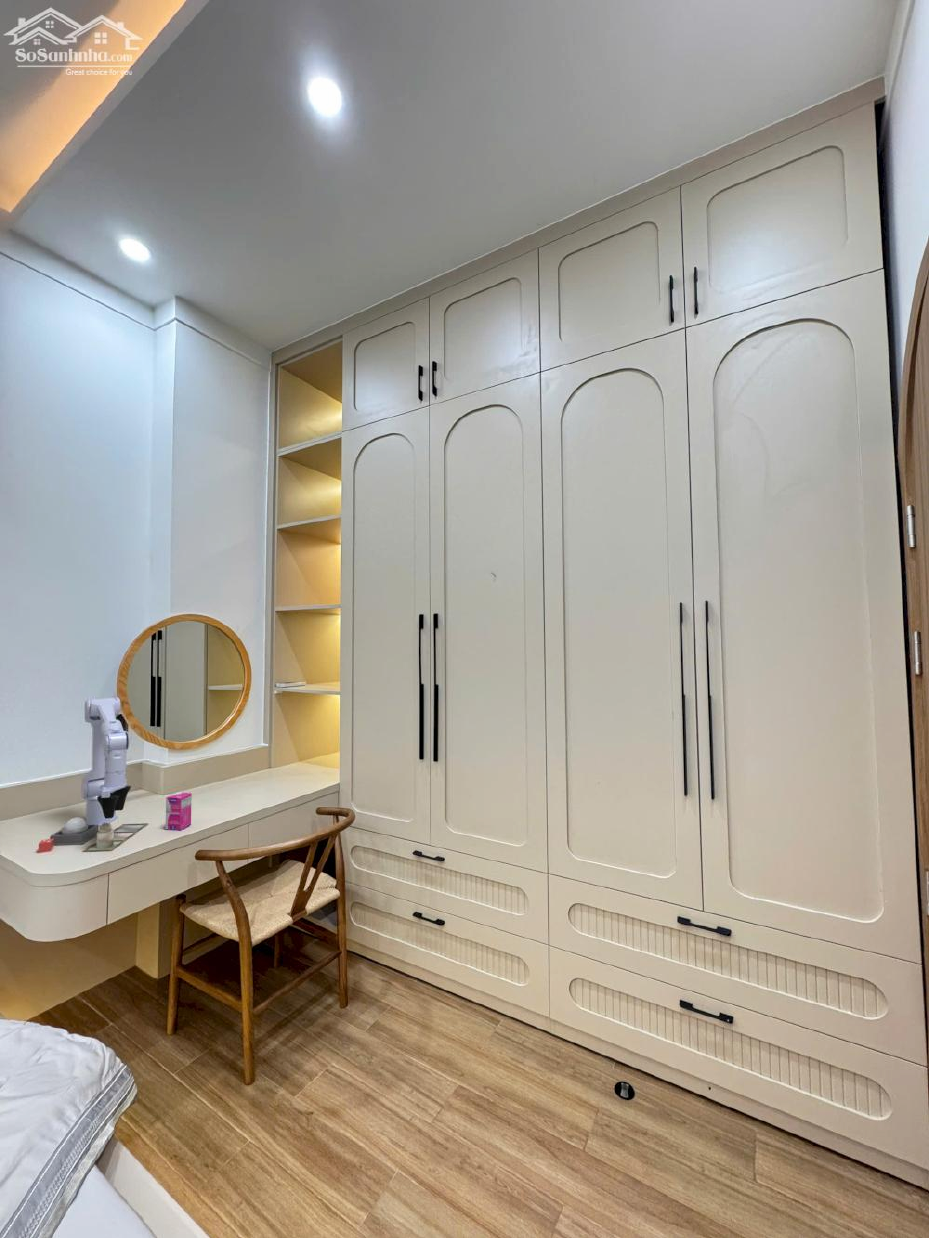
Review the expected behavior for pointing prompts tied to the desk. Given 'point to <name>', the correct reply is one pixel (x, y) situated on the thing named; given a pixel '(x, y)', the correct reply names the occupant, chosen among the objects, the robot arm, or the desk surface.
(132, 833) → the compartment tray
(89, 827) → the popper base
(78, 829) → the dome
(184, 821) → the supplement box
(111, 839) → the pawn
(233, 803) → the desk surface
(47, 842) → the red die
